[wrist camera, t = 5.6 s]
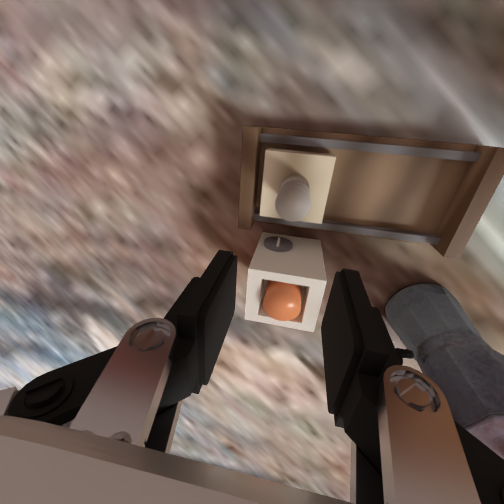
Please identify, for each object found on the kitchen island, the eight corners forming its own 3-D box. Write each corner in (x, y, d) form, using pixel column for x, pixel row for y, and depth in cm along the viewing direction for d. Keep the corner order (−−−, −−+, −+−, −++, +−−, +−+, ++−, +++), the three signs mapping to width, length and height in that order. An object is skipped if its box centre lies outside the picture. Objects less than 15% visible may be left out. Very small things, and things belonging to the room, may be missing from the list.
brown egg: (304, 273, 28) (304, 294, 25) (298, 300, 30) (297, 324, 27) (269, 268, 29) (264, 287, 25) (266, 295, 31) (261, 317, 27)
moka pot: (463, 339, 36) (611, 538, 19) (352, 327, 39) (393, 492, 21) (490, 285, 32) (716, 479, 14) (364, 275, 35) (426, 430, 17)
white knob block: (321, 236, 33) (328, 276, 24) (311, 282, 37) (313, 332, 28) (262, 228, 34) (248, 263, 25) (258, 273, 38) (244, 319, 29)
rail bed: (484, 145, 25) (517, 149, 22) (438, 241, 31) (458, 258, 27) (251, 125, 29) (243, 126, 25) (245, 215, 34) (238, 227, 30)
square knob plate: (333, 153, 27) (345, 166, 19) (319, 215, 30) (325, 247, 22) (269, 147, 28) (255, 157, 20) (263, 208, 31) (249, 236, 23)
